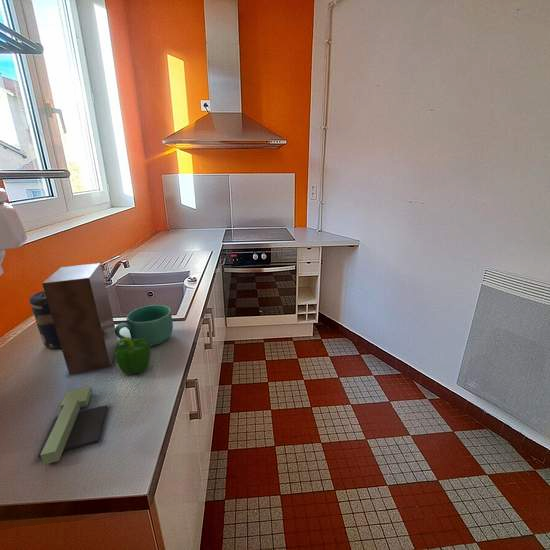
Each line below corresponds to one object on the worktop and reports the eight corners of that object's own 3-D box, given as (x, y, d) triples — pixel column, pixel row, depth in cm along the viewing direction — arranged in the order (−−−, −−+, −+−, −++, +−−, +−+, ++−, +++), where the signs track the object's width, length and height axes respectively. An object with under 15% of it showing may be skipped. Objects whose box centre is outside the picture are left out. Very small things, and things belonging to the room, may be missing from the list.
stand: (69, 374, 80) (41, 283, 72) (82, 347, 93) (60, 267, 84) (110, 366, 83) (89, 277, 75) (118, 341, 96) (100, 263, 87)
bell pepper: (156, 358, 86) (150, 327, 83) (148, 376, 78) (142, 343, 75) (125, 361, 85) (118, 330, 82) (114, 380, 77) (106, 346, 74)
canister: (86, 336, 99) (73, 285, 94) (61, 352, 91) (45, 297, 85) (63, 333, 102) (48, 283, 96) (36, 348, 93) (18, 294, 87)
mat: (38, 457, 57) (37, 455, 56) (56, 418, 66) (55, 416, 65) (98, 442, 59) (97, 439, 59) (107, 407, 68) (106, 404, 68)
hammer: (67, 458, 55) (63, 449, 55) (35, 467, 54) (31, 457, 53) (92, 391, 73) (90, 383, 72) (68, 396, 71) (66, 388, 70)
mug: (167, 326, 104) (163, 301, 101) (180, 341, 95) (176, 313, 92) (115, 342, 95) (108, 315, 92) (123, 361, 85) (116, 331, 82)
